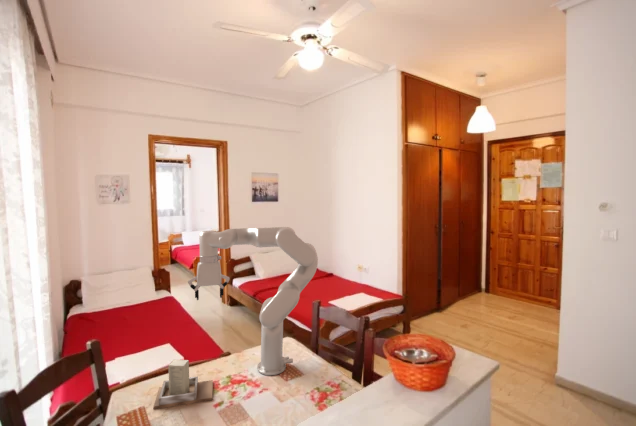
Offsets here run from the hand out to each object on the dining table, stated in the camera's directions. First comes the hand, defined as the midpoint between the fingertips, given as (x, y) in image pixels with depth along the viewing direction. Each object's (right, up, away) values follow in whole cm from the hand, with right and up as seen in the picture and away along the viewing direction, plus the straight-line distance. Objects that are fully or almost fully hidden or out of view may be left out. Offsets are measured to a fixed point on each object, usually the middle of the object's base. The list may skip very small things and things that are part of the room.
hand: (209, 298), depth 143 cm
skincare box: (-6, -32, -18) cm, 37 cm away
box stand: (-4, -33, -17) cm, 37 cm away
